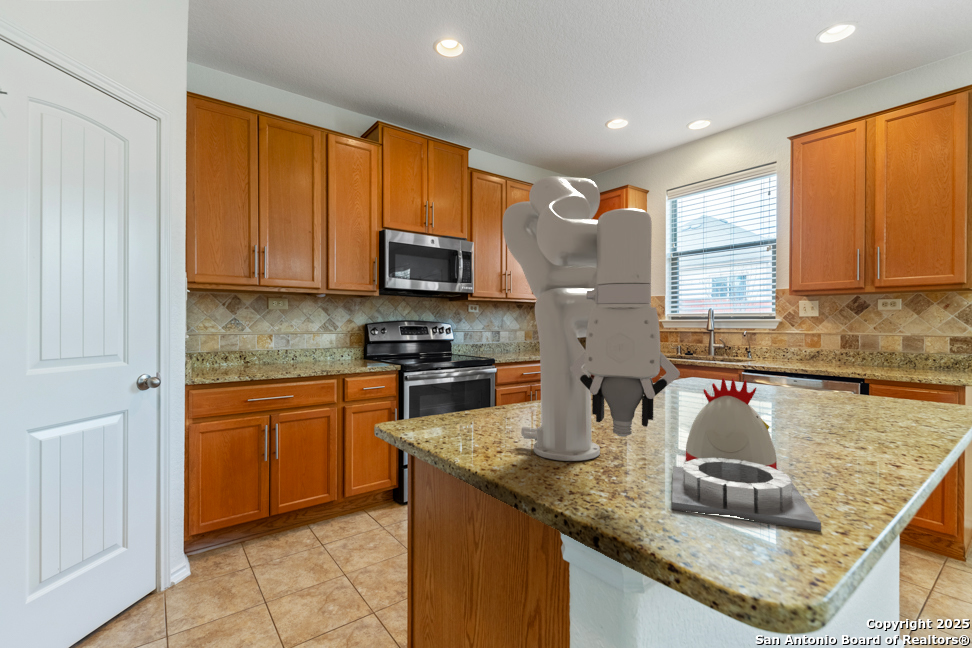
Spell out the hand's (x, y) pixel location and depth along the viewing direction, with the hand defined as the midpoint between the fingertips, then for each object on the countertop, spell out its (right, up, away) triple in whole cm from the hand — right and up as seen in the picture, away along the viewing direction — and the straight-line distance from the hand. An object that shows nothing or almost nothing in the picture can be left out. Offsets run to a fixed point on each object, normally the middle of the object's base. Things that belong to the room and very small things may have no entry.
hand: (622, 420), depth 64 cm
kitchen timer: (+23, -11, +13) cm, 28 cm away
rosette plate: (+15, -10, -2) cm, 18 cm away
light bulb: (0, -2, 0) cm, 2 cm away
